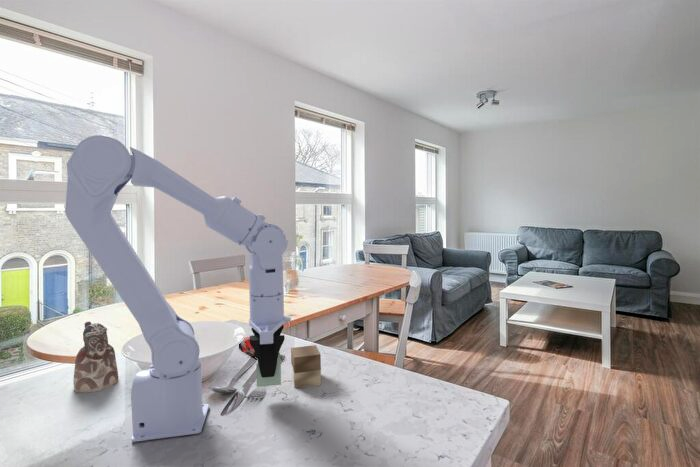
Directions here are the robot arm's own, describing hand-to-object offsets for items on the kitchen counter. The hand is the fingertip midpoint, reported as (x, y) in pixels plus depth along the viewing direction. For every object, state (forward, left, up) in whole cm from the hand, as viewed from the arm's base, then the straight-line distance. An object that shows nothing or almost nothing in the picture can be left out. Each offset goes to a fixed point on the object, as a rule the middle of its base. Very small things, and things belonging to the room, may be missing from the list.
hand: (268, 370), depth 65 cm
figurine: (-33, +14, -6) cm, 36 cm away
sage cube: (0, 0, -2) cm, 2 cm away
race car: (-3, +23, -6) cm, 24 cm away
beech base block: (+7, +6, -6) cm, 11 cm away
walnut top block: (+7, +6, -3) cm, 10 cm away
